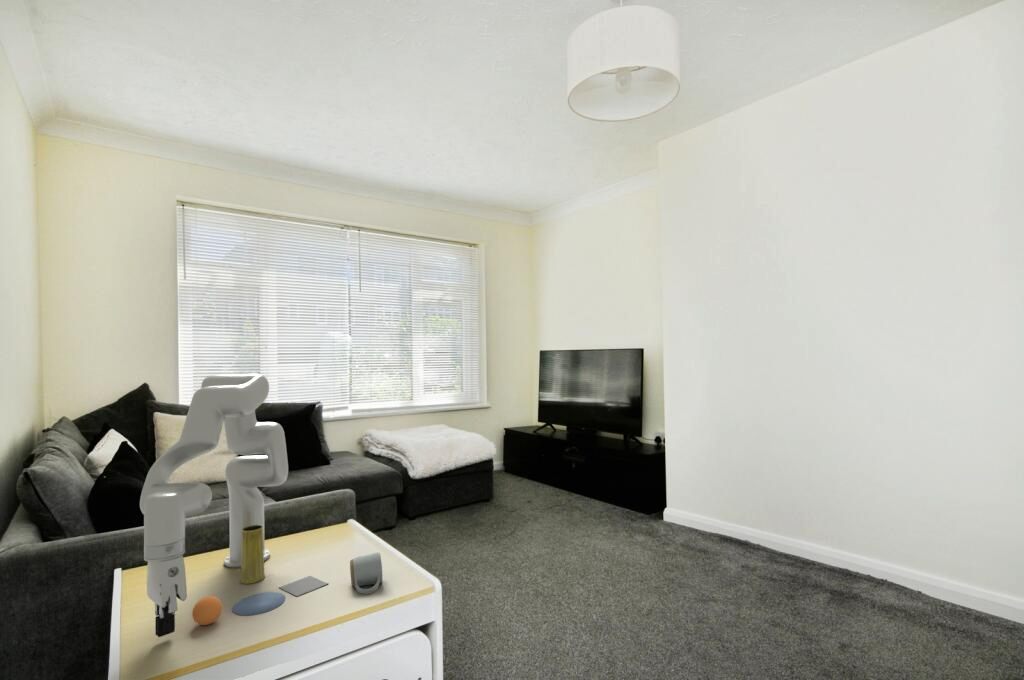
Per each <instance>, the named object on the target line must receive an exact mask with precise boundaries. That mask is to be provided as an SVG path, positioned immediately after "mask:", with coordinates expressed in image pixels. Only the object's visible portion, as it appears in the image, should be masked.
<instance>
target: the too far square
mask: <svg viewBox="0 0 1024 680" xmlns="http://www.w3.org/2000/svg"><path fill="white" fill-rule="evenodd" d="M327 585H329V583H328V582H326V581H323V580H321V579H318V578H316V577H314V576H311V575H308V576H305V577H303V578H300V579H298V580H295V581H292V582H290V583H288V584H285V585H284V584H283V585H282V586H279V587H278V589H279V590H280V589H281V590H282V591H284V592H286V593H288V594H290V595H292V596H294V597H296V598H297V597H300V596H303V595H305V594H308V593H310V592H312V591H315V590H318V589H320V588H323V587H325V586H327Z"/></svg>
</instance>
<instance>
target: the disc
mask: <svg viewBox="0 0 1024 680" xmlns="http://www.w3.org/2000/svg"><path fill="white" fill-rule="evenodd" d="M285 601H286V596H285V595H284V594H283V593H281V592H277V591H265V592H264V591H263V592H259V593H255V594H250V595H248V596H245V597H243V598H241V599H239V600H238V601H237V602H235V603H234V604H233V605H232V607H231V611H232V613H233V614H235V615H236V616H247V617H248V616H255V615H261V614H265V613H268V612H270V611H272V610H275V609H277V608H279V607H280V606H282V604H284V603H285Z"/></svg>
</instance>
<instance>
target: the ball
mask: <svg viewBox="0 0 1024 680" xmlns="http://www.w3.org/2000/svg"><path fill="white" fill-rule="evenodd" d="M222 611H223V603H222V602H221V600H220V598H218V597H216V596H212V595H209V596H205V597H203V598H202V597H201V599H199V600H198V601H197V602H196V604H194V606H193V608H192V613H191V614H192V619H193V621H194V622H195V623H196V624H197V625H200V626H208V625H211V624H213V623H215V622H216V621H217V620H218V618H220V616H221V614H222Z"/></svg>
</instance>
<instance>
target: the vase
mask: <svg viewBox="0 0 1024 680" xmlns="http://www.w3.org/2000/svg"><path fill="white" fill-rule="evenodd" d="M264 563H265V561H264V560H263V526H261V525H252V526H247V527H244V528H243V529H242V561H241V567H240V581H239V582H240V583H241V584H243V585H250V584H256V583H259V582H261V581H263V580H264V579H265V577H266V576H265V564H264Z"/></svg>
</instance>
